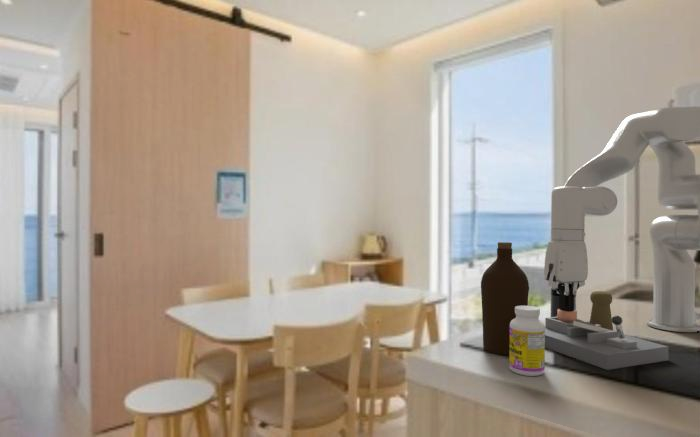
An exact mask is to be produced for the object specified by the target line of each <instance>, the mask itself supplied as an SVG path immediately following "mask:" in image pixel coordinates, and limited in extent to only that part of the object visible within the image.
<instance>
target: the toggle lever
mask: <svg viewBox="0 0 700 437" xmlns="http://www.w3.org/2000/svg"><path fill="white" fill-rule="evenodd" d="M622 323H623V318H622V317H621V316H620V315H614V316H612V324H613V325H614V326H615V330H617V334H618V338H619V339H623V338H625V336H624V335H625V333H624V329H623V326H622Z"/></svg>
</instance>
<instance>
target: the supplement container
mask: <svg viewBox="0 0 700 437" xmlns="http://www.w3.org/2000/svg"><path fill="white" fill-rule="evenodd" d="M558 309H559V294H558V293H557V290H556V289H555V288H553V287H550V317H557V310H558ZM574 310H576V311H577V294H576V295H574Z"/></svg>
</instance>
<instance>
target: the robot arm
mask: <svg viewBox="0 0 700 437" xmlns="http://www.w3.org/2000/svg"><path fill="white" fill-rule="evenodd" d="M695 140H700V106H694V105H693V106H670V107H662V108H656V109H651V110H646V111H642V112H637V113H634V114H630V115H628V116H627V117H626V118H624V120H622V121H621V123H620V124H619V126H618V128H617V129H616V130H615V132H614V133H613V134H612V137H611V138H610V139H609V141H608V142H607V144H606V146H605V147H604V148H603V150H602V151H601V152H600V153H599V154H597V155H596V156H594V157H593V158H592V159H590V160H589V161H588V162H586V163H585V164H584V165H582V166H581V167H579V168H578V169H576V171H575V172H573V173H572V174H571V176H570V177H568V179H567V180H566V182H565V184H564V185H562V186H557V187H553V189H552V191H551V206H550V207H551V208H550V210H551V213H550V214H551V219H550V220H551V221H550V228H551V229H550V241H548V242H547V247H546V251H545V258H544V268H543V269H544V270H543V272H544V273H543V276H544V279H545V281H548V284H547V285H548V287H549V288H552V287H553V288H555V289H556V290H557V293H558V294H559V309H560V310H563V311H567V312H570V311H574V295H576V296H577V291H578V289H579V288H581V287H584V286H585V285H586V282H585V281H587V279H588V275H589V262H588V259H589V258H588V251H587V246H586V242H585V237H586V233H585V230H586V229H585V228H586V227H585V226H586V225H585V222H586V221H585V220H586V219H585V218H586V217H594V218H595V217H605V216H608V215H610V214H612V213H613V212H614V210H615V209H616V208H617V206H618V197H617V195H616V193H615V192H614V191H613V190H612V189H610V188H608V187H605V186H601V185H602V184H604V183H606V182H608V181H611V180H613V179H616V178H619V177H621V176H623V175H625V174H628V173H629V172H631V171H632V170H634V168H635V166H636V164H637V163H638V162H639V160H640V158H641V157H642V155H643V153H644V152H645V151H646V149H647V148H648V146H649V147H650V148H651V149H652V151H653V153H654V154H655V155H656V158H657V163H658V175H657V177H658V178H657V201H658V203H659V205H660V207H662V208H663V209H666V210H672V211H675V210H676V211H677V210H678V211H683V210H684V211H693V210H695V211H696V210H697V213H698V214H666V215H665V214H664V215H661V216H659V217H656V218H655V219H654V220H653V221H652V222H651V223H650V227H649V236H650V238H649V239H650V240H651V245H652V251H653V303H652V304H653V306H652V307H653V308H652V310H653V311H652V312H653V313H652V314H653V316H652V317H653V318H649V319H647V320H646V324H647V325H648V326H649V327H651V328H654V329H658V330H664V331H669V332H675V333H677V332H678V333H698V332H697V331H699V332H700V324H699V323H696V320H700V311H699V312H696V308H695V305H696V304H695V303H696V300H695V299H696V296H695V294H696V292H695V291H696V266H695V265H696V264H695V261H694V259H693V258H692V256H691V255H690V253H689V252H688V251H700V173H699V174H698V173H697V174H696V157H695V154H694V152H693V151H692V149H691V148H690V147H689V146H688V145H687V144H686V143H685V142H689V141H695Z"/></svg>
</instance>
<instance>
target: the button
mask: <svg viewBox="0 0 700 437" xmlns="http://www.w3.org/2000/svg"><path fill="white" fill-rule="evenodd" d="M577 319H578V311H577V309H576V310H574V311H570V312H567V311H563V310H560V309H558V310H557V320H559V321H562V322H566V323H572V322H574V321H575V320H577Z"/></svg>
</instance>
